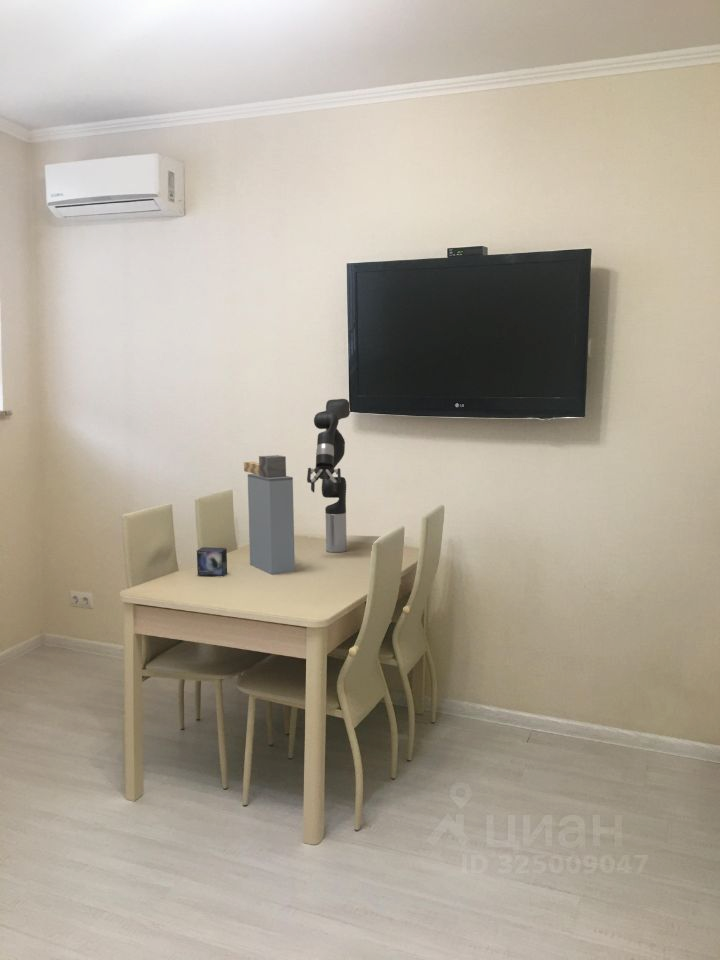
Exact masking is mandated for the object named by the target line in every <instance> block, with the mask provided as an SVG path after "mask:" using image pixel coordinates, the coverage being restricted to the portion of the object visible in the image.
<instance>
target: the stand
mask: <svg viewBox="0 0 720 960" xmlns="http://www.w3.org/2000/svg"><path fill="white" fill-rule="evenodd" d="M293 479H294V478H293V477H292V476H289V475H286V477H273V478H266V477H261V476H259V475H258V474H254V473H247V494H248V495H247V498H248V532H249V536H248V537H249V564H250V566H252V567H255V568H256V569H258V568H259V570H261V571H263V572H265V573H267V574H269V575H273V576H274V575H281V574H286V573H295V572H296V563H295V561H296V560H295V559H296V558H295V557H296V556H295V525H294V524H295V521H294V514H295V513H294V480H293Z"/></svg>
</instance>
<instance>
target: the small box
mask: <svg viewBox="0 0 720 960" xmlns="http://www.w3.org/2000/svg"><path fill="white" fill-rule="evenodd" d="M227 549H228V548H227V547H205V546H203V547H201V548H199V549H197V550H196V563H197V564H196V565H197V566H196V567H197V569H196V570H197V576H198V575H204V576H203V577H213V576H223V577H224V576H226V575H227V574H228V557H227V556H228V555H227V553H228V552H227V551H228V550H227Z"/></svg>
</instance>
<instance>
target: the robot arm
mask: <svg viewBox="0 0 720 960" xmlns="http://www.w3.org/2000/svg"><path fill="white" fill-rule="evenodd" d="M349 404H350V402H349V400H348V399H347V398H335V399H329V400H327V401H326V404H325V410H323V411H319V412H317V413H316V414H315V415H314V417H313V418H314V419H313V423H314V427H316V429H319V430H324V431H322V432H319V433H318V434H317V441H316V442H317V443H316V452H315V467H314V468H311V467H307V477H306V482H307V483H308V484H309V483H310V490H311V492H312V493H315V486H316V485H315V483H316V482H317V481H319V479H320V480H321V495H322V497H324V498H325V499H326V498H328V499H331V498H332V499H336V498H337V499H338V500H337V501H336V502H334V503H332V504H329V505H326V507H325V508H324V509H325V551H326V552H329V553H343V552H346V551H347V549H348V548H347V547H348V545H347V543H348V542H347V500H346V499H347V481H346V478H345V477H343V476H341V471H342V470H341V468H340V467H338V468H336V466H338V464H339V463H340V462H341V460H342V459H343V458H344V455H345V451H346V449H345V447H346V441H345V438H344V436H343V435H342V433H341V432H340V431H339V430H338V425H339V422H340V421H339V420H342V419H346V418H348V417H349V416H350V414H351V410H350V411H349ZM313 473H315V475H314V476H313V477H312V474H313ZM334 473H335V474H336V475H337V476H333V475H334ZM311 477H312V479H311Z"/></svg>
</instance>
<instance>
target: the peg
mask: <svg viewBox="0 0 720 960" xmlns="http://www.w3.org/2000/svg"><path fill="white" fill-rule="evenodd" d="M286 459H287V458H286V456H284V455H279V454H274V455H261V456H260V455H259V456H258V462H257V461H244V462H243V472H245V473H248V474H258V475H259V476H261V477H266V478H273V477H286V476H287V462H286Z"/></svg>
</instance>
